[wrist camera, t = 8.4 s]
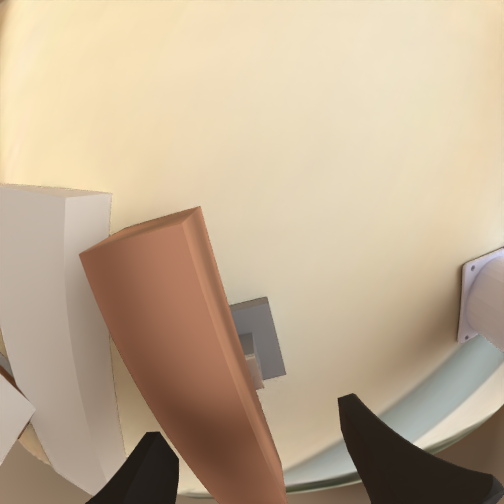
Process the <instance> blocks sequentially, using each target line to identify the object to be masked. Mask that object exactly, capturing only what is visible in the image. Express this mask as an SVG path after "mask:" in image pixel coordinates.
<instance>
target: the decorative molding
mask: <svg viewBox="0 0 504 504" xmlns="http://www.w3.org/2000/svg"><path fill="white" fill-rule="evenodd" d="M111 202H112V193H107V192H98V191H88V190H78V189H63V188H53V187H41V186H32V185H17V184H0V327H1V331H2V336H3V340H4V344H5V348H6V352H7V355H8V359H9V362H10V366H11V369H12V372H13V375H14V379H15V382H16V385H17V386H18V388H19V389H20V390H21V392H22V393H23V394H24V395H25V397H26V398H27V399H28V400H29V401H30V403H31V404H32V405H33V406H34V407H35V409H36V410H35V412H34V414H33V416H32V417H31V419H30V421H31V424H32V426H33V428H34V430H35V433H36V435H37V437H38V439H39V441H40V443H41V445H42V447H43V449H44V451H45V453H46V455H47V457H48V459H49V461H50V463H51V465H52V466H53V468H54V470H55V471H56V472H57V473H59V474H60V475H61V476H63V477H64V478H66V479H67V480H69V481H70V482H72V483H73V484H75V485H76V486H78V487H79V488H81V489H83V490H84V491H86V492H87V493H89V494H91V495H93V496H95V495H96V494H97V493H98V492H99V491H100V490H101V489H102V488H103V487H104V486H105V485H106V484H107V483H108V482H109V480H110V479H111V478H112V477H113V476H114V475H115V473H116V472H117V471H118V470H119V469H120V467H121V466H122V465H123V463H124V462H125V461H126V459H127V457H126V453H125V448H124V444H123V439H122V433H121V428H120V422H119V416H118V409H117V402H116V395H115V387H114V379H113V371H112V361H111V349H110V334H109V330H108V328H107V325H106V323H105V321H104V319H103V316H102V314H101V312H100V309H99V307H98V305H97V302H96V300H95V297H94V295H93V292H92V290H91V287H90V285H89V282H88V279H87V277H86V274H85V271H84V268H83V266H82V263H81V260H80V257H79V254H80V253H82V252H83V251H85V250H87V249H88V248H90V247H92V246H94V245H95V244H97V243H99V242H101V241H102V240H104V239H106V238H108V237H109V231H110V215H111Z"/></svg>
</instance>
